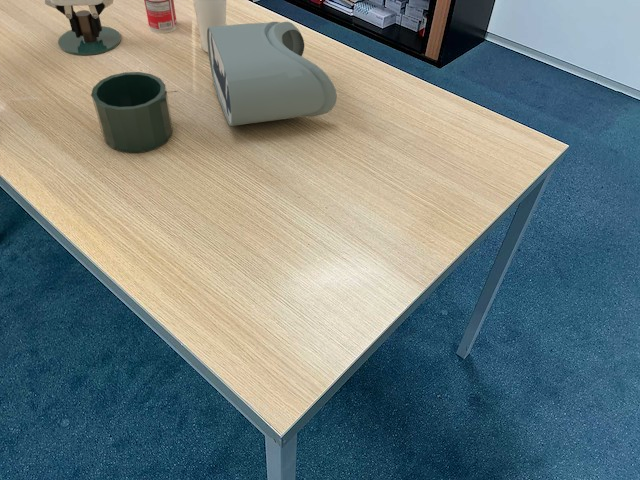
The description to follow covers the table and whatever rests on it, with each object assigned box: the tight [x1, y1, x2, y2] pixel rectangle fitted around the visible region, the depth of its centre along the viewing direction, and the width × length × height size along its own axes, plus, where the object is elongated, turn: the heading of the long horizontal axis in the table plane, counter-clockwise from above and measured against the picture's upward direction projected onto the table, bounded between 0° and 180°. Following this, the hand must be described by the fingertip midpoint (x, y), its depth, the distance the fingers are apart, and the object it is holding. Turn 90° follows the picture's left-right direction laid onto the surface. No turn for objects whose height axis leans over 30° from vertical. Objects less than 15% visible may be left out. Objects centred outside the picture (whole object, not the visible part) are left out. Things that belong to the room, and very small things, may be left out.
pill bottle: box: [143, 0, 178, 34], centre depth 119 cm, size 6×6×11 cm
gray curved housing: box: [207, 21, 338, 127], centre depth 100 cm, size 22×19×13 cm
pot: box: [91, 71, 174, 154], centre depth 92 cm, size 12×12×8 cm
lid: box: [57, 9, 122, 56], centre depth 114 cm, size 13×13×7 cm
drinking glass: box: [192, 0, 227, 54], centre depth 113 cm, size 7×7×15 cm
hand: (88, 33), depth 115 cm, fingers closed on lid, 3 cm apart
